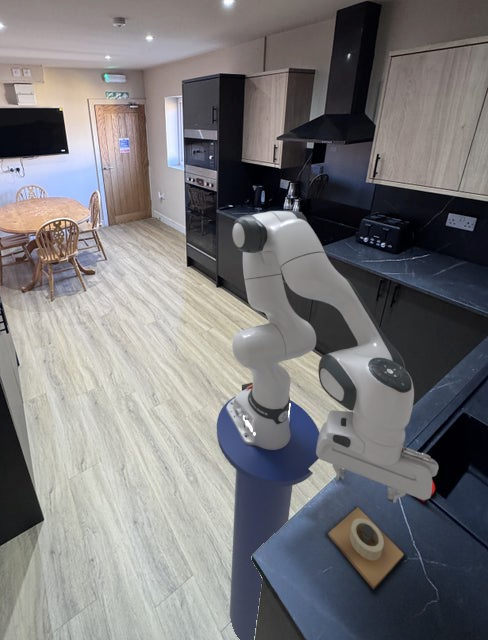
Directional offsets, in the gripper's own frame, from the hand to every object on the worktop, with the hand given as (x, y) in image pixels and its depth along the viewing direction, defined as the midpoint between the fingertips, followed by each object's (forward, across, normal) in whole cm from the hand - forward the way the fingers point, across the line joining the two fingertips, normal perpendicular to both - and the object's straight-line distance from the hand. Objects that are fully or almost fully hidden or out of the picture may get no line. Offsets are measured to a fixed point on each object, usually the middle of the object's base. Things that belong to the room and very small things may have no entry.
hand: (364, 487), depth 67 cm
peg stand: (+19, -3, -2) cm, 19 cm away
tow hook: (+19, -15, -24) cm, 34 cm away
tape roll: (+18, -3, -2) cm, 18 cm away
